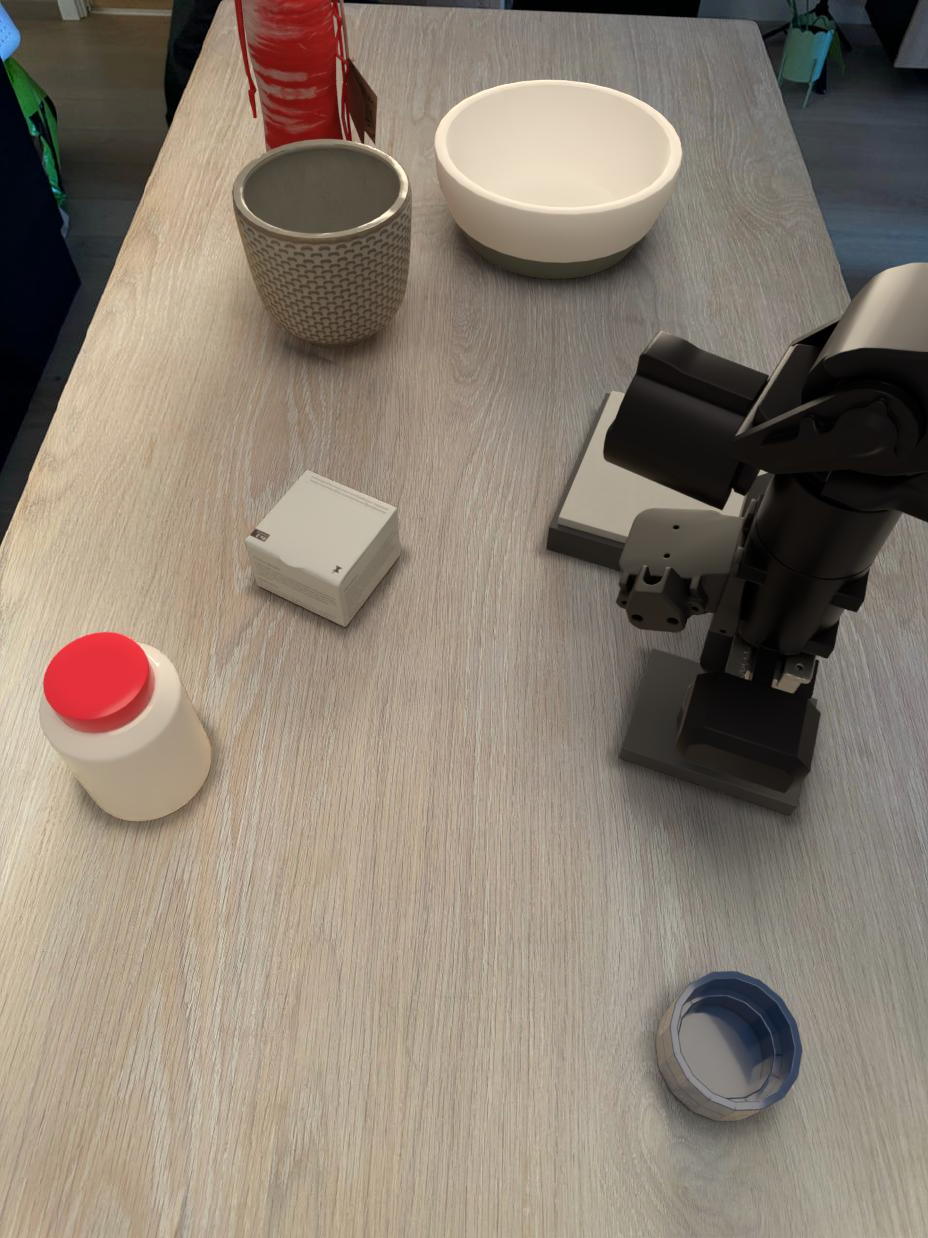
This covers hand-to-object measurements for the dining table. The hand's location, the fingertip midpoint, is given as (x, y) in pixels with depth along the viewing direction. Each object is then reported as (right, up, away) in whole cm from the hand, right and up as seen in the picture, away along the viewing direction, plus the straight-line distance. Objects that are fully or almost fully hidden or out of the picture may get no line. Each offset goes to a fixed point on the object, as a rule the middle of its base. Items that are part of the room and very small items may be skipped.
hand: (734, 695), depth 57 cm
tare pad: (0, -3, +4) cm, 5 cm away
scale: (0, +13, +15) cm, 20 cm away
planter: (-28, +31, +27) cm, 49 cm away
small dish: (-3, -19, -7) cm, 20 cm away
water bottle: (-30, +45, +36) cm, 65 cm away
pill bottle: (-36, -5, +2) cm, 37 cm away
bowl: (-8, +43, +35) cm, 56 cm away
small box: (-26, +8, +11) cm, 30 cm away
